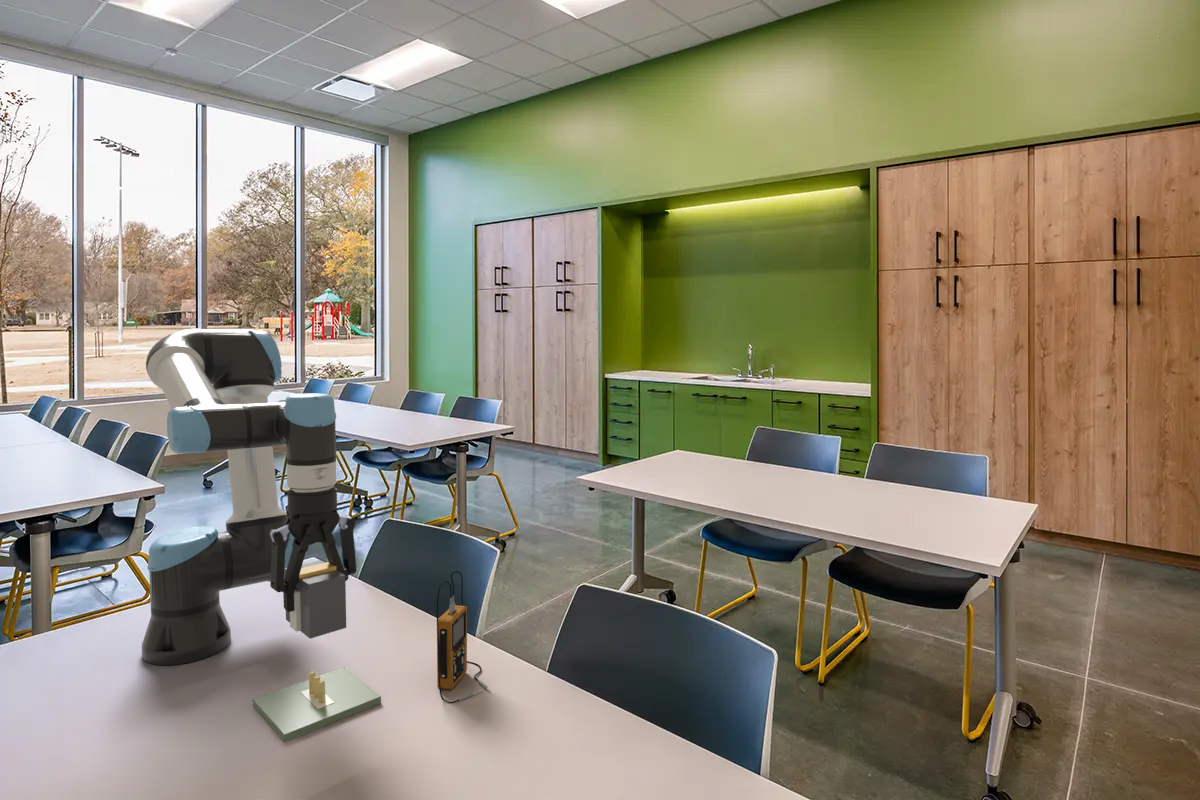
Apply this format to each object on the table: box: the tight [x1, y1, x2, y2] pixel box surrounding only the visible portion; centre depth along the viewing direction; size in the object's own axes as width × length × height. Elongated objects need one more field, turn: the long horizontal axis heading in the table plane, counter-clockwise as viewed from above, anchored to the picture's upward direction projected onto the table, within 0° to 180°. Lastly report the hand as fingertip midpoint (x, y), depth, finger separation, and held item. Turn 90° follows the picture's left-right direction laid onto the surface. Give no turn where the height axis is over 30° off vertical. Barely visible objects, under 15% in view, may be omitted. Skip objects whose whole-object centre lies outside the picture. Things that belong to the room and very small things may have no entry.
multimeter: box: [436, 571, 492, 704], centre depth 122 cm, size 15×10×20 cm
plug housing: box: [285, 560, 347, 640], centre depth 113 cm, size 10×6×10 cm, turn 45°
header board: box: [252, 666, 382, 742], centre depth 115 cm, size 14×16×5 cm
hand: (316, 622), depth 113 cm, fingers closed on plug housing, 6 cm apart
